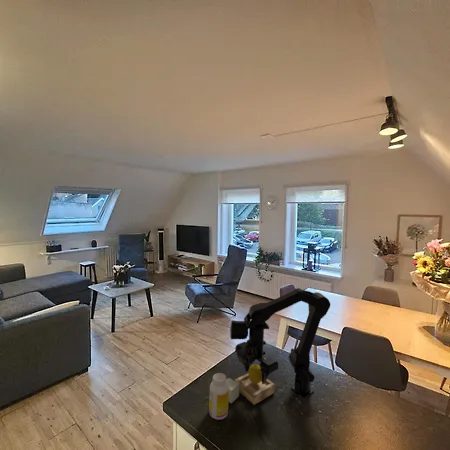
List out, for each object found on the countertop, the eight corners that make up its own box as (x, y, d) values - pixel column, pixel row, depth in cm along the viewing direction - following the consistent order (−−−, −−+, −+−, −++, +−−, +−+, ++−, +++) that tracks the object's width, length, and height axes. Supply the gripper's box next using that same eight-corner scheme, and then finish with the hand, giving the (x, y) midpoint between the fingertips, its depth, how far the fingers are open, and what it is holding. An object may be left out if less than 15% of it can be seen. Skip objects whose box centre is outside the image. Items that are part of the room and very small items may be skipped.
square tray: (254, 377, 107) (254, 369, 107) (274, 392, 99) (274, 384, 99) (234, 388, 101) (235, 379, 101) (253, 405, 92) (254, 395, 92)
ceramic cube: (228, 390, 100) (228, 377, 99) (238, 396, 96) (239, 383, 96) (220, 397, 96) (221, 384, 95) (231, 403, 92) (231, 390, 92)
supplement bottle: (231, 410, 89) (232, 375, 88) (221, 423, 83) (223, 386, 83) (215, 403, 92) (216, 368, 92) (205, 415, 87) (206, 378, 86)
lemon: (260, 379, 103) (261, 360, 102) (263, 388, 97) (264, 368, 97) (247, 379, 102) (247, 360, 102) (249, 388, 97) (249, 368, 97)
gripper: (225, 334, 101) (224, 372, 102) (258, 356, 87) (256, 400, 87) (246, 327, 108) (244, 363, 109) (280, 346, 93) (278, 387, 94)
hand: (254, 377), depth 99 cm, fingers open, 9 cm apart
